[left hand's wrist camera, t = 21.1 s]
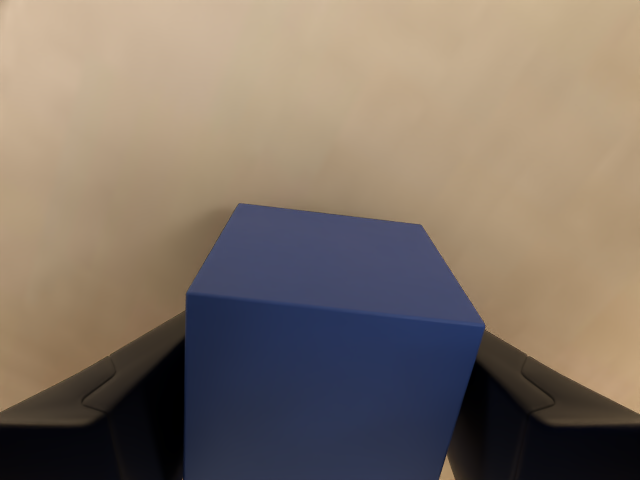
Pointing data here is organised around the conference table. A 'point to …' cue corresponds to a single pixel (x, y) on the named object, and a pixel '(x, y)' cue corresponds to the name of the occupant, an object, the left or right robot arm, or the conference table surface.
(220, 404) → the cube
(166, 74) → the conference table surface
